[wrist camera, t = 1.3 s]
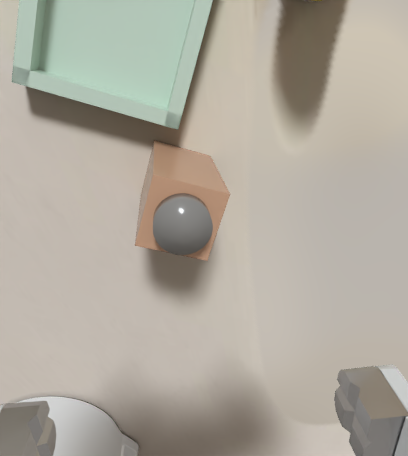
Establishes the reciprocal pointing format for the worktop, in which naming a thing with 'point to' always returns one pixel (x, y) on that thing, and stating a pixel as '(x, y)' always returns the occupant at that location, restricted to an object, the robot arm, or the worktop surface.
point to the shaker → (180, 202)
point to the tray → (112, 53)
